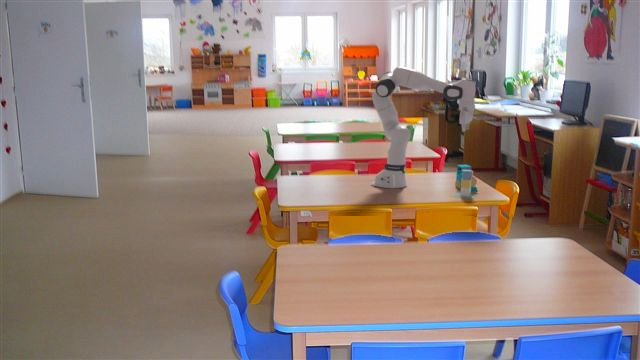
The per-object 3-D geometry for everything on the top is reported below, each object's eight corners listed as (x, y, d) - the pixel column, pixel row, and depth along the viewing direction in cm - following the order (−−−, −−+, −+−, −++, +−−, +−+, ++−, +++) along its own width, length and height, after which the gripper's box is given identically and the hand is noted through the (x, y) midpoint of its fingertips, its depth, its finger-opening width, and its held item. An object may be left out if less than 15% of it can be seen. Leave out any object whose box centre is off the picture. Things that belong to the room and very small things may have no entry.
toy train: (467, 194, 399) (468, 170, 396) (454, 188, 415) (456, 165, 412) (479, 193, 401) (480, 169, 398) (466, 188, 417) (467, 164, 414)
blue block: (462, 179, 387) (463, 171, 386) (462, 177, 391) (462, 169, 390) (471, 179, 386) (471, 171, 385) (470, 178, 391) (471, 169, 390)
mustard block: (460, 187, 389) (461, 179, 388) (462, 185, 393) (463, 177, 392) (469, 188, 387) (469, 179, 386) (471, 186, 391) (471, 178, 390)
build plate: (451, 198, 388) (451, 196, 388) (456, 194, 399) (457, 192, 399) (474, 200, 383) (474, 198, 382) (478, 196, 394) (478, 194, 394)
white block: (460, 195, 389) (460, 187, 388) (462, 194, 394) (462, 185, 393) (468, 196, 387) (469, 188, 386) (470, 195, 392) (471, 186, 391)
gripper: (468, 108, 374) (467, 132, 377) (475, 105, 393) (474, 128, 395) (457, 108, 377) (456, 132, 380) (465, 105, 395) (463, 128, 398)
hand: (465, 130), depth 388 cm, fingers open, 8 cm apart
